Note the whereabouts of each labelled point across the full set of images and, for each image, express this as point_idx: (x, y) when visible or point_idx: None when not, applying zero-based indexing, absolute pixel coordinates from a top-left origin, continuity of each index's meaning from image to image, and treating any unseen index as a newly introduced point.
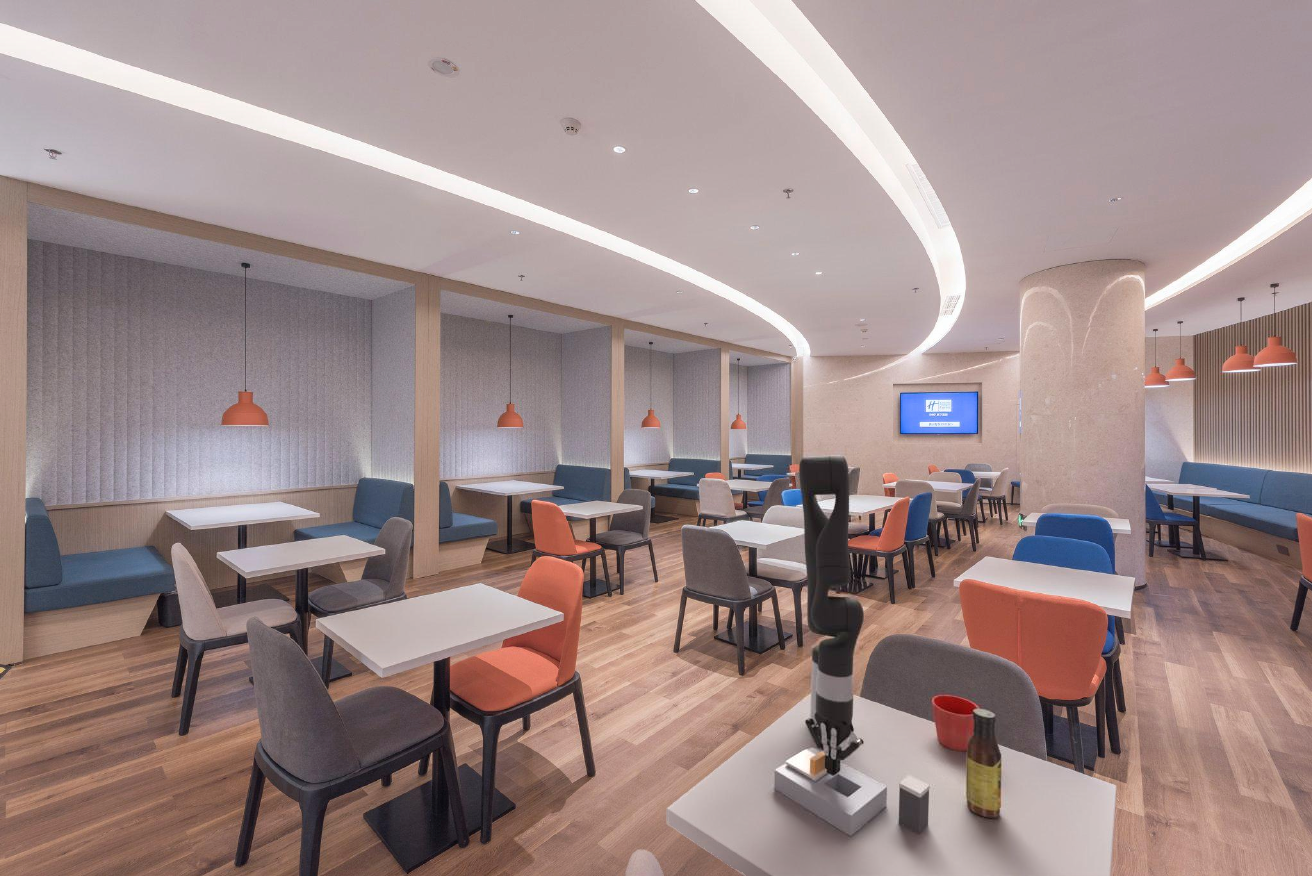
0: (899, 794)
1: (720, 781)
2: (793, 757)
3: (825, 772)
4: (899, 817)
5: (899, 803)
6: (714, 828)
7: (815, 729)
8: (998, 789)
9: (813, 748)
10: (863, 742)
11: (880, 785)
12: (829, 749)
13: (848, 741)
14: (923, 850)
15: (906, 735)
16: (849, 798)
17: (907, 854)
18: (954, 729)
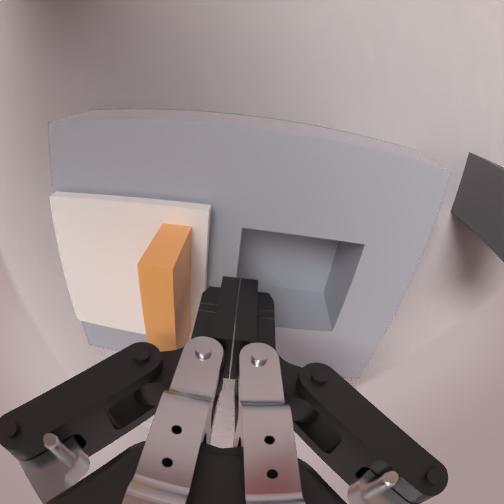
0: (501, 259)
1: (48, 344)
2: (70, 285)
3: (205, 284)
4: (462, 220)
5: (484, 241)
6: (145, 421)
7: (89, 446)
8: None
9: (55, 124)
10: (446, 474)
11: (429, 182)
12: (216, 406)
13: (348, 498)
14: (490, 266)
15: None
16: (339, 332)
17: (461, 299)
18: None
